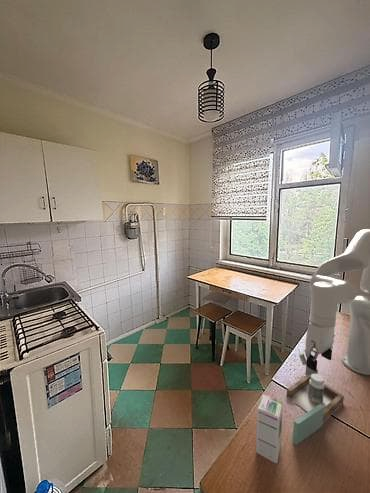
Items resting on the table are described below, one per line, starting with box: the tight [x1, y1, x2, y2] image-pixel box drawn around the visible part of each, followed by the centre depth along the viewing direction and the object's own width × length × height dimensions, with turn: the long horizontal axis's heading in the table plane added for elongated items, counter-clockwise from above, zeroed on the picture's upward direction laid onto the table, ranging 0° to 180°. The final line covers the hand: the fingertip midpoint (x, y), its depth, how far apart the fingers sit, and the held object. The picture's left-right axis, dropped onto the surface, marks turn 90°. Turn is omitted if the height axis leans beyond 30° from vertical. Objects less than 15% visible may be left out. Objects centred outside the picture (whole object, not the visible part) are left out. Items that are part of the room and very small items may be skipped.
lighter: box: [298, 352, 319, 376], centre depth 90 cm, size 7×2×8 cm, turn 46°
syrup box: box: [255, 394, 284, 464], centre depth 61 cm, size 6×6×14 cm
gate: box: [292, 404, 324, 446], centre depth 65 cm, size 12×1×7 cm, turn 117°
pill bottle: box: [308, 373, 325, 403], centre depth 78 cm, size 5×5×8 cm
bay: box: [286, 374, 345, 423], centre depth 78 cm, size 14×12×3 cm
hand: (319, 363), depth 76 cm, fingers open, 9 cm apart
